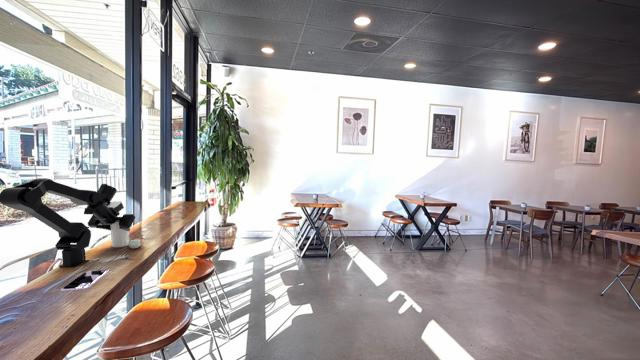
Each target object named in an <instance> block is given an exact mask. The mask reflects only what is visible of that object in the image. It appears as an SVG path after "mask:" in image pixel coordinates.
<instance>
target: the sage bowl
mask: <svg viewBox="0 0 640 360" xmlns="http://www.w3.org/2000/svg"><path fill="white" fill-rule="evenodd" d="M141 245H142V244H141V239H131V240H129V245H128V247H129V248H130V249H137V248H139V247H141Z"/></svg>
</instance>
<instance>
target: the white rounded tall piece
mask: <svg viewBox="0 0 640 360" xmlns="http://www.w3.org/2000/svg"><path fill="white" fill-rule="evenodd" d="M119 227H120V226H119V222H115V223H114V224H112V225H111V230H110V238H111V247H112V248H123V247H127V246H129V241H130V231H126V230H123V229H119Z"/></svg>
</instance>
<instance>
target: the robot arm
mask: <svg viewBox="0 0 640 360" xmlns="http://www.w3.org/2000/svg"><path fill="white" fill-rule="evenodd" d="M117 191H118V189H117V188H115V187H114V186H112V185H109V184H107V183H101V184H100V186H99V188H98V189H97V191H96V190H90V189H79V188H76V187H72V186H70V185H67V184H65V183H61V182H57V181H55V180H53V179H50V178H49V177H48V178H44V177H43V178H34V179H31V180H29V181H27V182H24V183H21V184H18V185H15V186H13V187H7V188H4V189H3V190H1V192H0V204H1V205H3V206H5V207H7V208H10V209H13V210H17V211H21V212H25V213H27V214H29V215H31V216H32V217H33V218H35V219H37V220H38V221H40V222H41V223H43V224H45V225H46V226H48V227H49V228H51V229H52V230H54V231H56V232H57V233H58V237H59V240H58V241H57V242H56V244H55V248H56V250H57V251H60V250H61V255H62V257H61V258H62V259H61V260H62V264H59V265H58V267H59V268H76V267H78V266H81V265H84V264H85V263H88V262H90V260H89V259H86V258H87V257H86V248H88V247H90V246H89V245H90V241H91V239H92V231H91V230H90V228H93V229H95V228H96V229H99V230H107V231H111V225H112V224H114V223H115V222H119V226H120V227H119V229H123V230H126V231H129V232H130V231H131V227H132V225H133V223H134V222H135V219H136V216H135V214H133V213H124V214H123V215H122V216H119V215H120V212H121V211H122V210H123V209H124V205H123V202H122V201H121V200H120V201H118V200H117V201H116V200H115V201H113V200H112V199H114V196H115V195H116V193H117ZM47 193H49V194H51V195H55V196H57V197H58V196H59V197H62V198H65V199H68V200H69V201H70V202H71V203H74V204H75V205H77V206H86V207H85V208H84V210H83V215H91V217H90V218H89V220H88V222H87V226H86V225H85V223H83V222H79V221H78V222H74V221H73V222H72V221H71V222H70V221H69V220H67V219H66V218H64V217H63V216H62V215H60V214H59V213H57V212H56V211H54V209H52V208H51V207H49V206H48V205H46V204H44V203H43V200H42V199H43V197H45V195H46V194H47Z"/></svg>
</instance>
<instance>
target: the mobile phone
mask: <svg viewBox="0 0 640 360" xmlns="http://www.w3.org/2000/svg"><path fill="white" fill-rule="evenodd" d="M108 273H109V269H100V270H99V269H98V270H89V271H85V272H84V273H82V274H81V275H80V274H79V276H78V277H76V278H74V279H73V280H72V281H70V282H69V283H67V284H66V285H64V286H63V287H62V288H60V291H61V292H65V291H77V290H86V289H89V288H90V287H91V286H92V285H94V284H96V282H97V281H99V280H101V278H103V277H104V276H105V275H106V274H108Z"/></svg>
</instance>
